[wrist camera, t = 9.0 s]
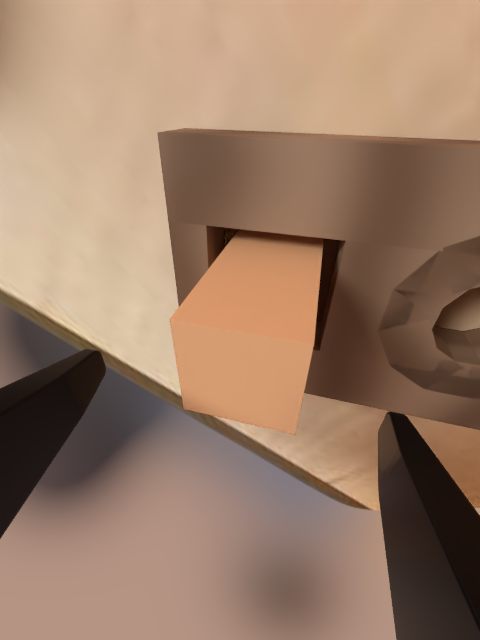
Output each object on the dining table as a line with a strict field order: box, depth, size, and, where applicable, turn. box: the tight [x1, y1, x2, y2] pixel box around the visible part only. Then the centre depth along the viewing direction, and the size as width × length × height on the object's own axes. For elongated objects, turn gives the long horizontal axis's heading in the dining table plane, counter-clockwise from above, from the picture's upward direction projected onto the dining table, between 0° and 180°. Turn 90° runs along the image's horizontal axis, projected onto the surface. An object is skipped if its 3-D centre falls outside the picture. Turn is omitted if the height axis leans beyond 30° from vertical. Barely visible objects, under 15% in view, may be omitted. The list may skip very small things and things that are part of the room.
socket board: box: [158, 128, 480, 430], centre depth 14 cm, size 18×12×2 cm, turn 89°
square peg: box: [170, 229, 324, 435], centre depth 12 cm, size 4×4×8 cm
